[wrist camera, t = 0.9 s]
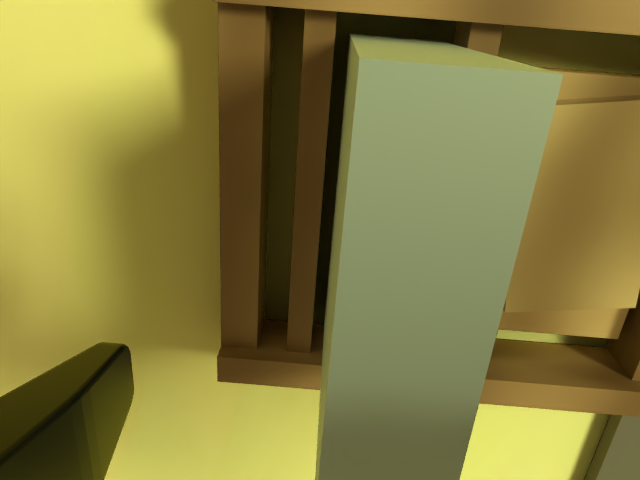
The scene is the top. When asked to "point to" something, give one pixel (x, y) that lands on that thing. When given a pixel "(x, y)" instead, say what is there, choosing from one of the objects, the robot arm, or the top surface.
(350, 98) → the grey square block
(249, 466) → the top surface
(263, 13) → the rack
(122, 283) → the top surface
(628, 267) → the offcut stack
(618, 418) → the rubber mat
